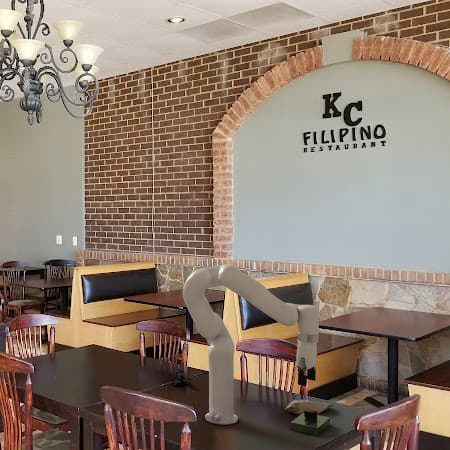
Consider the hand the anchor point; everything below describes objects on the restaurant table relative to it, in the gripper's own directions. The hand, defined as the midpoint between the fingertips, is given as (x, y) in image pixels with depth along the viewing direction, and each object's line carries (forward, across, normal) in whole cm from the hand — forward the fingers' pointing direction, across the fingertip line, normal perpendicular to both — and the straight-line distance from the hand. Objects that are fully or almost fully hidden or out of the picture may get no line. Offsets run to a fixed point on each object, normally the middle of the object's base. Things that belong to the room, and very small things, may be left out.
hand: (306, 382), depth 234 cm
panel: (+17, 0, +2) cm, 17 cm away
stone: (+17, -19, -5) cm, 26 cm away
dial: (+14, 0, +2) cm, 14 cm away
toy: (+18, -21, -67) cm, 73 cm away
